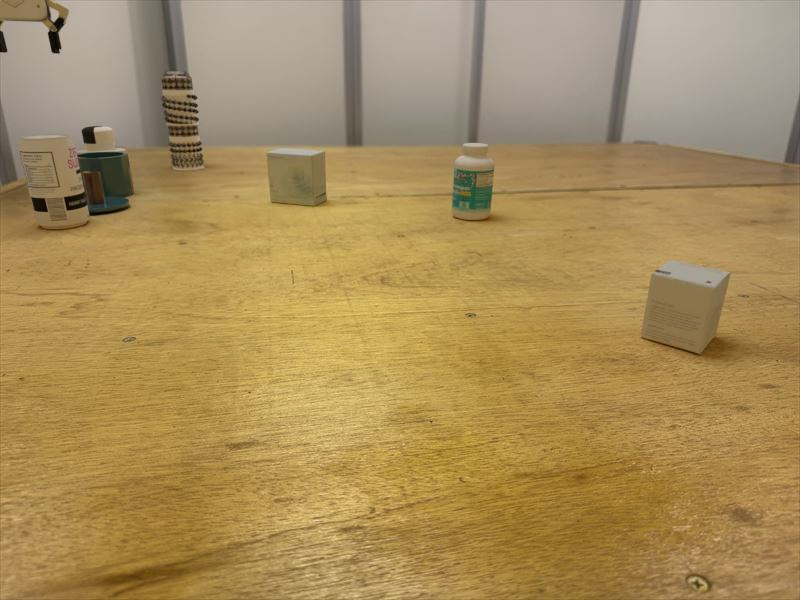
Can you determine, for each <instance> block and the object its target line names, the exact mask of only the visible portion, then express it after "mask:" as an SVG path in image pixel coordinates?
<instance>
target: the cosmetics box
mask: <svg viewBox="0 0 800 600" xmlns="http://www.w3.org/2000/svg"><path fill="white" fill-rule="evenodd" d="M265 153H266V161H267V162H266V164H267V175H268V187H269V198H270V199H269V200H270V202H271V203H277V204H278V203H279V204H288V205H298V206H309V207H315V206H318V205H320V204H322V203H325V202H326V201H327V200H328V196H327V195H328V193H327V173H326V172H327V171H326V150H320V149H319V150H317V149H304V148H302V149H301V148H289V147H279V148H276V149H273V150H270V151H266V152H265Z"/></svg>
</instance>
